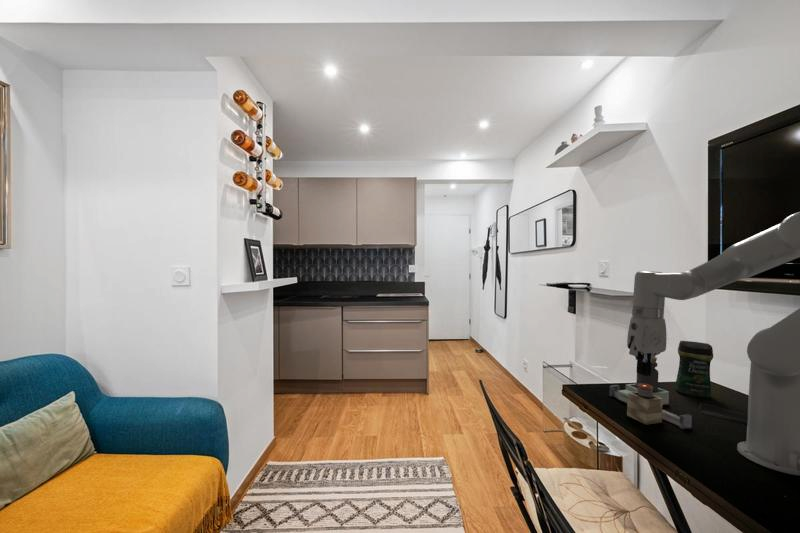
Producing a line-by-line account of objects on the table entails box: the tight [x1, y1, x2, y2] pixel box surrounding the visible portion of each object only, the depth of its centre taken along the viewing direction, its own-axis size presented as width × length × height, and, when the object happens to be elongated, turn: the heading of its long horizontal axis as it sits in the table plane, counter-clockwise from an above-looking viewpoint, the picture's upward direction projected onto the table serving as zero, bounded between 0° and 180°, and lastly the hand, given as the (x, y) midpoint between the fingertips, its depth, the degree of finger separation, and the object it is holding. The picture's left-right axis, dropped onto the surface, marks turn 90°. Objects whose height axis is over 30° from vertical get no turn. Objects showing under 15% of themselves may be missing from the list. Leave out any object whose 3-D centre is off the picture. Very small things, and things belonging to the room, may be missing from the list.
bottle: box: [635, 356, 659, 393], centre depth 115 cm, size 6×6×15 cm
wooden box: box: [626, 391, 663, 425], centre depth 102 cm, size 6×6×7 cm
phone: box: [697, 402, 748, 425], centre depth 105 cm, size 8×1×15 cm
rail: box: [608, 384, 693, 430], centre depth 108 cm, size 24×3×4 cm, turn 16°
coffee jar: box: [674, 340, 714, 399], centre depth 122 cm, size 10×8×19 cm
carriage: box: [617, 383, 670, 406], centre depth 115 cm, size 8×13×4 cm, turn 106°
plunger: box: [638, 383, 653, 399], centre depth 102 cm, size 4×4×5 cm
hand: (643, 374), depth 102 cm, fingers closed
